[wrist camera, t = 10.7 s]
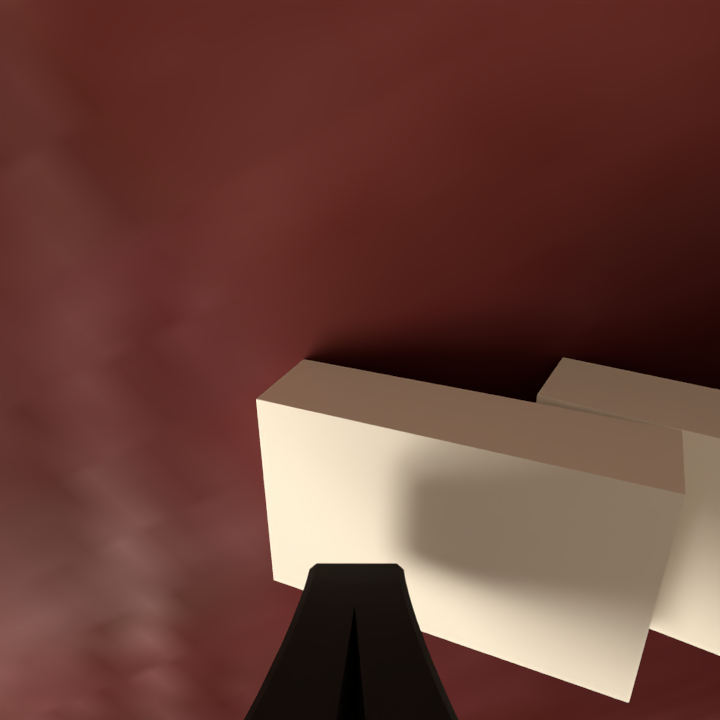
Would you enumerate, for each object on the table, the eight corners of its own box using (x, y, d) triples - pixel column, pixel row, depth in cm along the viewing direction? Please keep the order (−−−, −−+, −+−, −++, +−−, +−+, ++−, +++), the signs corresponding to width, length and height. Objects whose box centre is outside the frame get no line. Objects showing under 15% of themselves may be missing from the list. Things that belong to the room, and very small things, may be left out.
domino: (303, 359, 13) (682, 430, 10) (313, 526, 14) (632, 623, 12) (256, 399, 11) (685, 494, 9) (273, 579, 13) (628, 702, 10)
